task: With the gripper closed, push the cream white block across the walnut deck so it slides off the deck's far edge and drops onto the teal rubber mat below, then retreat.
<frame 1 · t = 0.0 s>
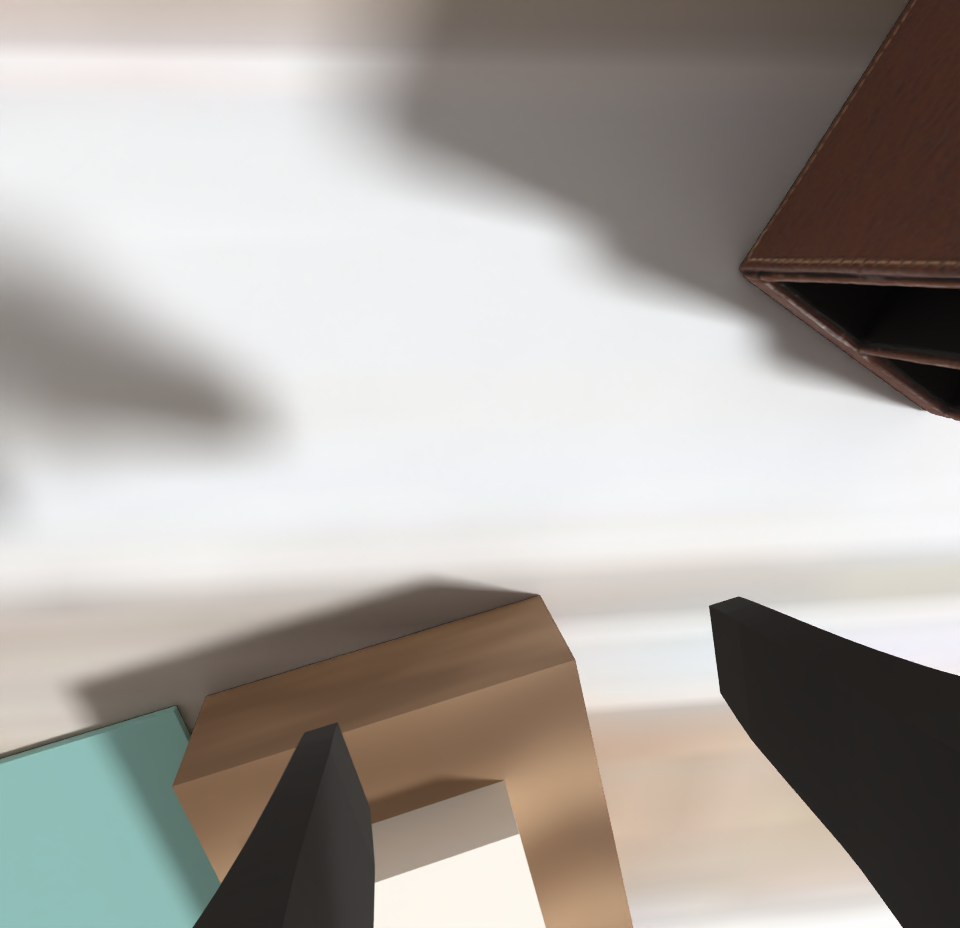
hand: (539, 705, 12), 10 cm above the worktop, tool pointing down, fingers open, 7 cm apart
cream white block: (446, 912, 21), point 4 cm above the worktop, touching deck
mat: (109, 922, 23), on the worktop
deck: (434, 814, 25), on the worktop
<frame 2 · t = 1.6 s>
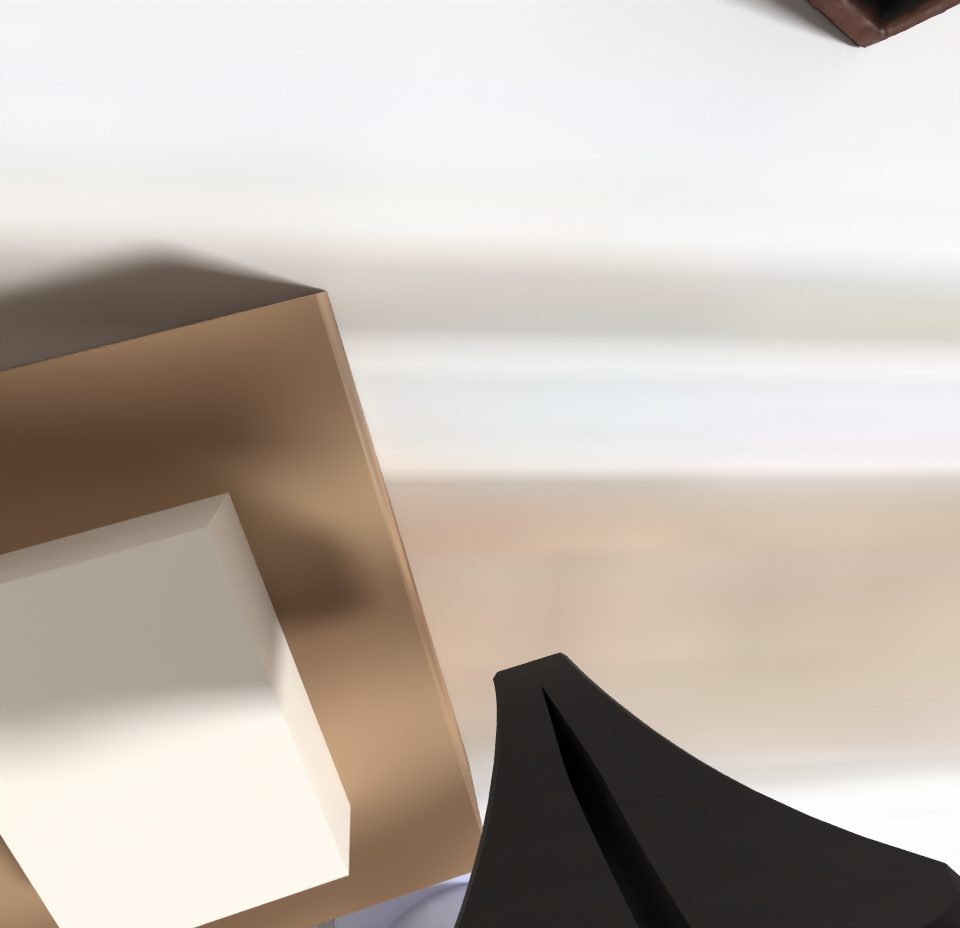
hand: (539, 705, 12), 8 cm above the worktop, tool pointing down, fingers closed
cream white block: (168, 702, 15), point 4 cm above the worktop, touching deck
deck: (208, 615, 18), on the worktop
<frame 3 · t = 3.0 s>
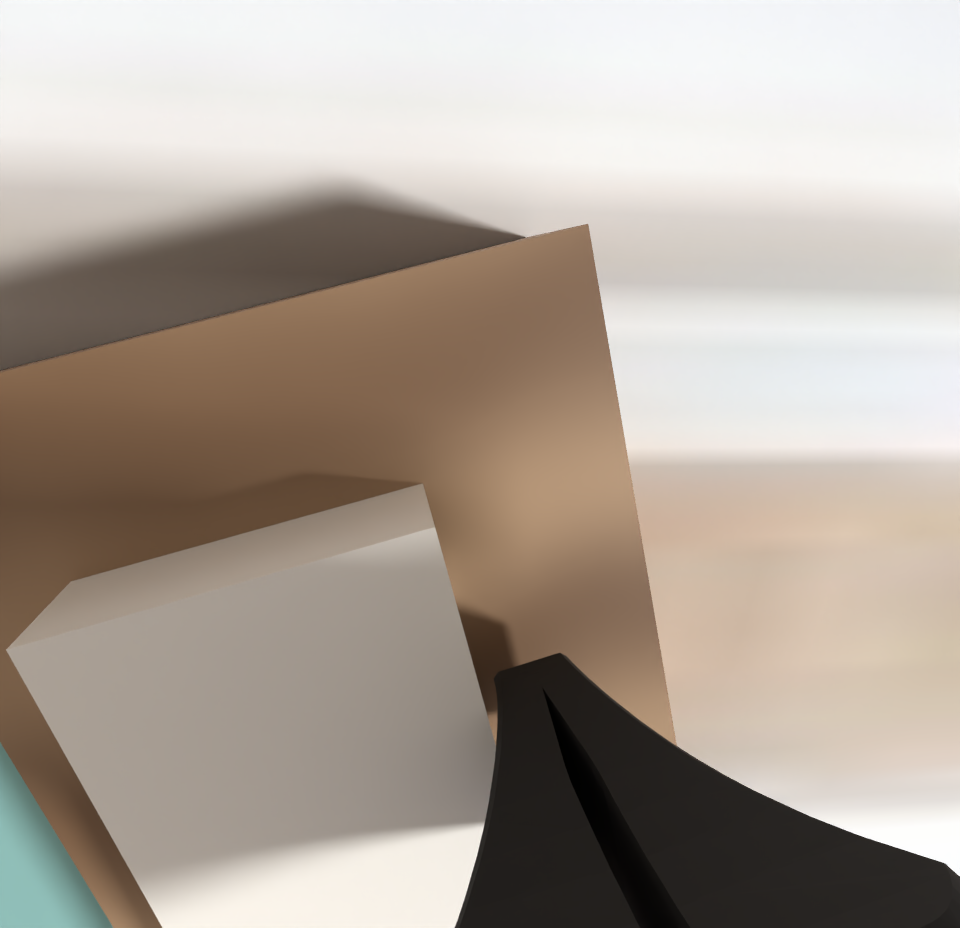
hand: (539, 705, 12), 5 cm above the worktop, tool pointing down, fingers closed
cream white block: (331, 738, 12), point 4 cm above the worktop, touching deck, gripper
deck: (368, 620, 16), on the worktop
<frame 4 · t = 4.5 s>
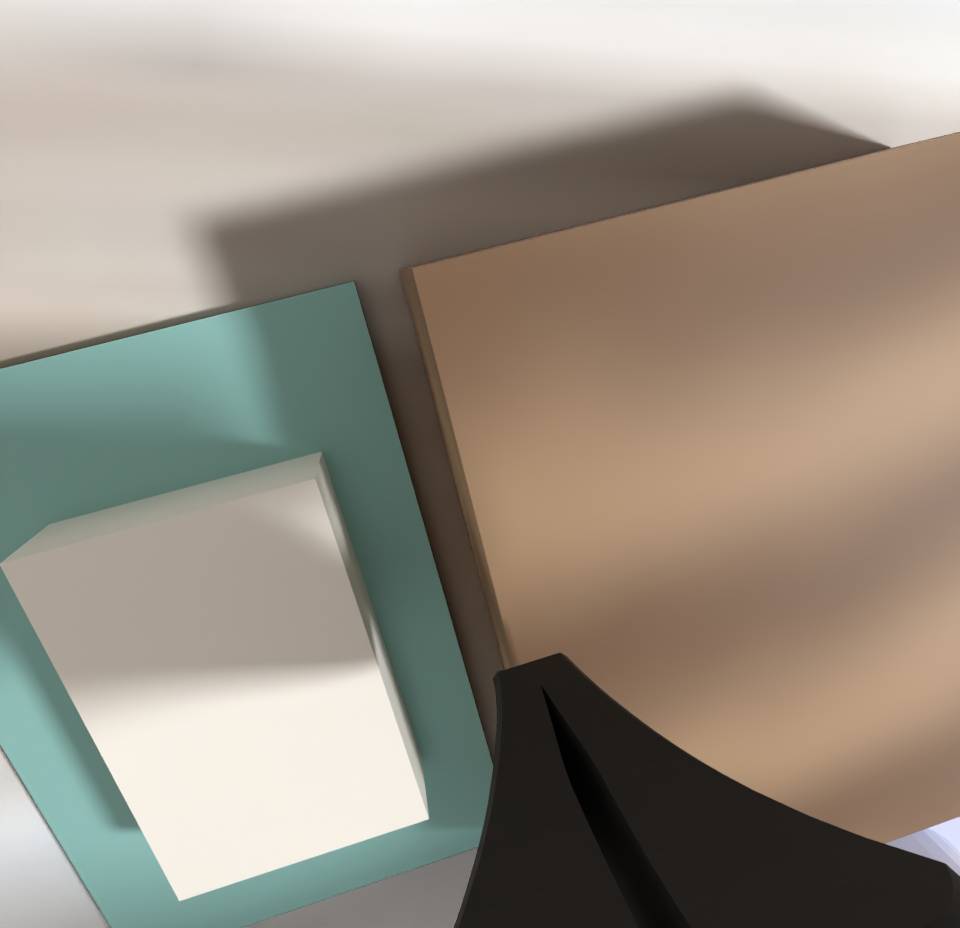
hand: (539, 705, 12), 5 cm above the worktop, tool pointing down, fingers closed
cream white block: (241, 707, 14), point 2 cm above the worktop, tilted 180°, touching mat
mat: (231, 661, 16), on the worktop
deck: (697, 521, 17), on the worktop
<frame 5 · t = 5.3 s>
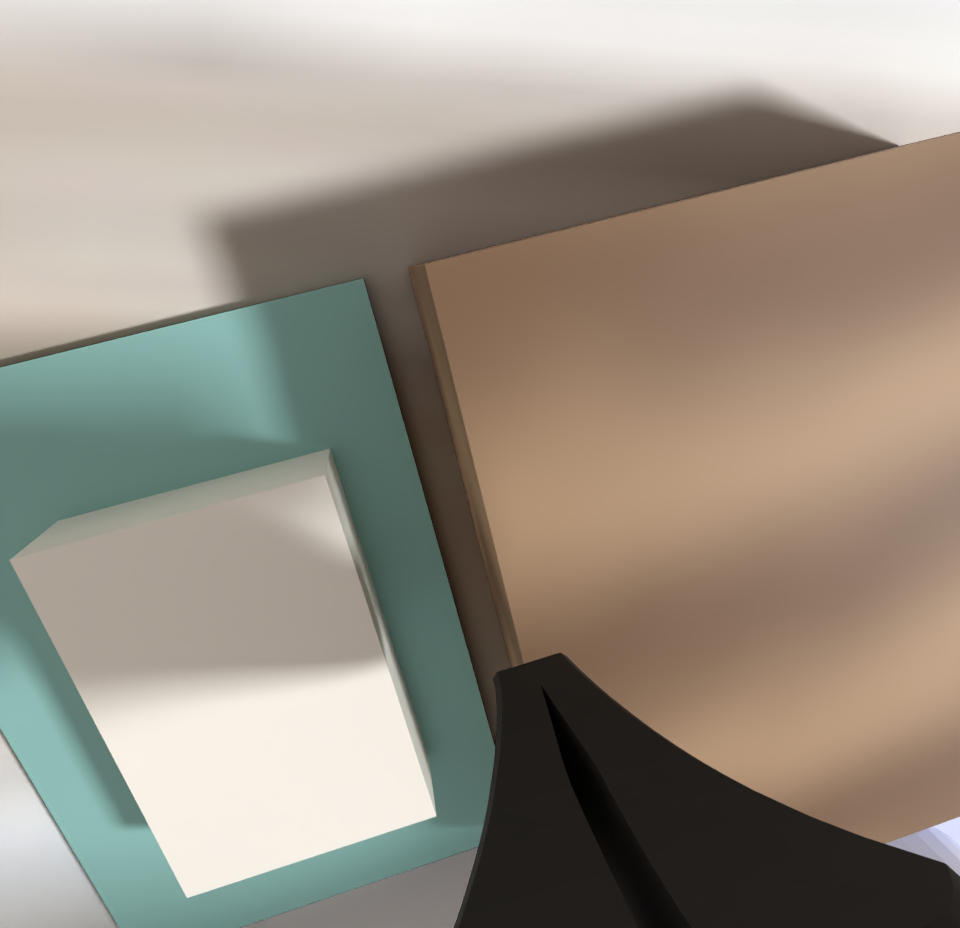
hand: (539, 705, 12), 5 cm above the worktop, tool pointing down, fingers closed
cream white block: (250, 704, 14), point 2 cm above the worktop, tilted 180°, touching mat
mat: (238, 658, 16), on the worktop
deck: (704, 519, 17), on the worktop
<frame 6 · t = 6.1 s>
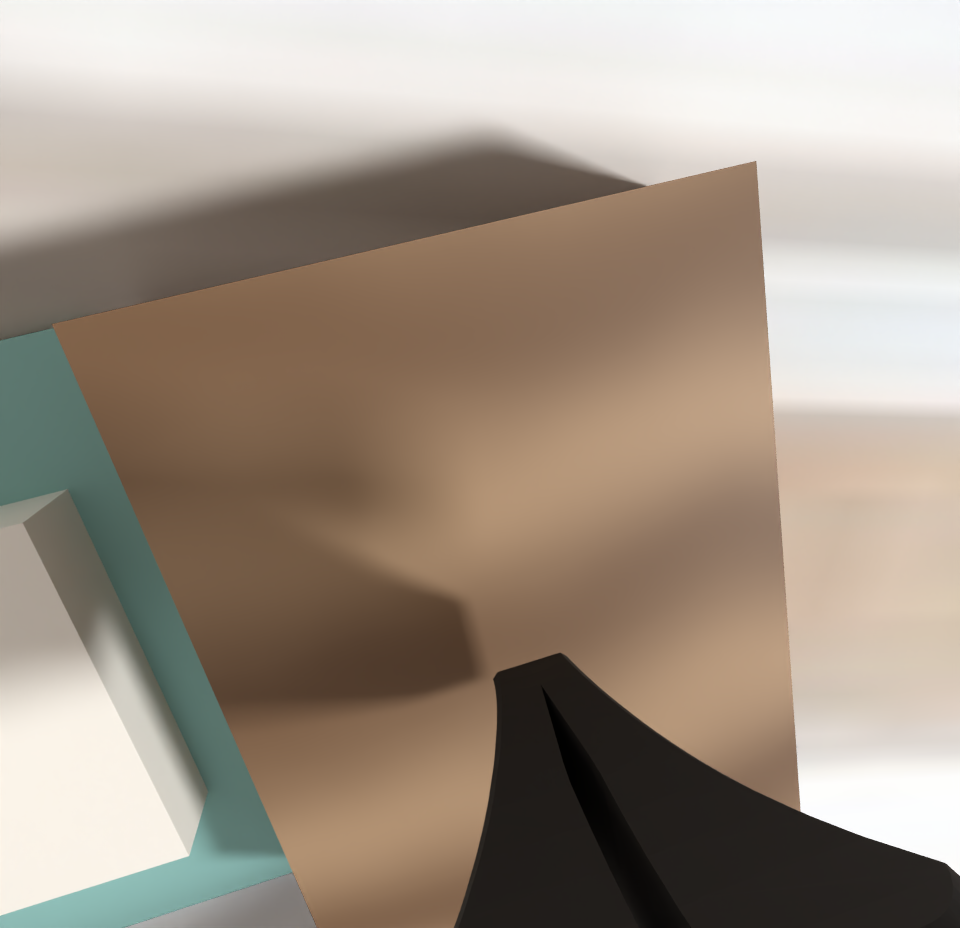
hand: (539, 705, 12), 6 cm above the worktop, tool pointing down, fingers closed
deck: (483, 556, 17), on the worktop
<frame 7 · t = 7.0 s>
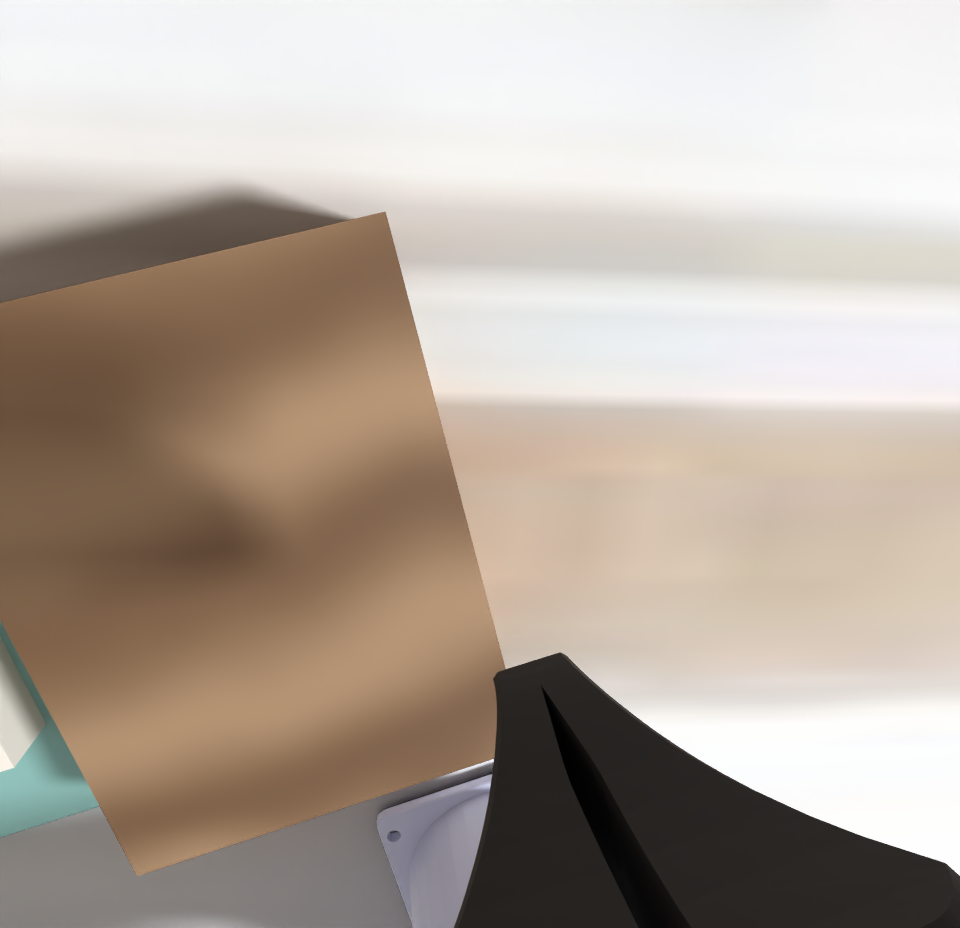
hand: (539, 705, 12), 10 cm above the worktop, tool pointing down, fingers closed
deck: (269, 525, 21), on the worktop
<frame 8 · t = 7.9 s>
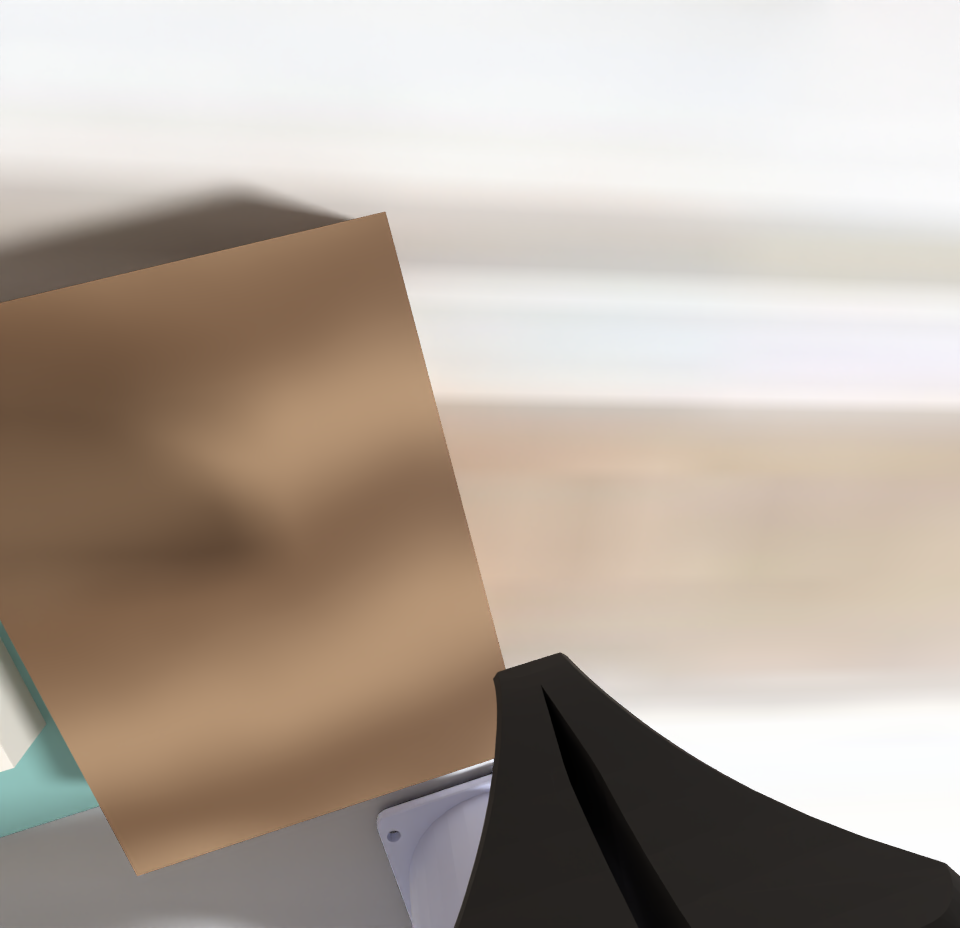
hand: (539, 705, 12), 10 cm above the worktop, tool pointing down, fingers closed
deck: (269, 525, 21), on the worktop
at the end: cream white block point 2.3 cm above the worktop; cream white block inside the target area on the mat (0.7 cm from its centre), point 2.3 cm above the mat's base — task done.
